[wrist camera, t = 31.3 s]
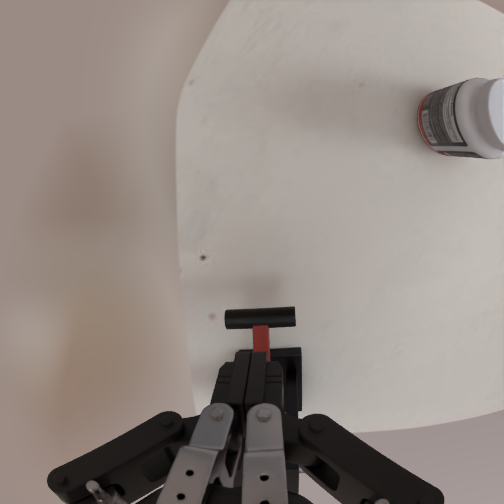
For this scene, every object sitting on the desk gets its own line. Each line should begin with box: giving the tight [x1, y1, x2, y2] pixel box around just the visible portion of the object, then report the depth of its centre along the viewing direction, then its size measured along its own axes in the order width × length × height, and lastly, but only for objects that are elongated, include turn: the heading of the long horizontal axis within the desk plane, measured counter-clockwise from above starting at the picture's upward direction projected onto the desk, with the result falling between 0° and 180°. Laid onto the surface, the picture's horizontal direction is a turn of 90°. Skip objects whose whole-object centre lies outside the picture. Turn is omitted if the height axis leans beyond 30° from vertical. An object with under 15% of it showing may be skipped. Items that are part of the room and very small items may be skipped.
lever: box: [225, 307, 296, 361], centre depth 21 cm, size 14×5×2 cm, turn 6°
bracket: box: [233, 348, 305, 494], centre depth 24 cm, size 8×6×13 cm
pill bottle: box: [418, 78, 504, 159], centre depth 16 cm, size 6×6×10 cm
